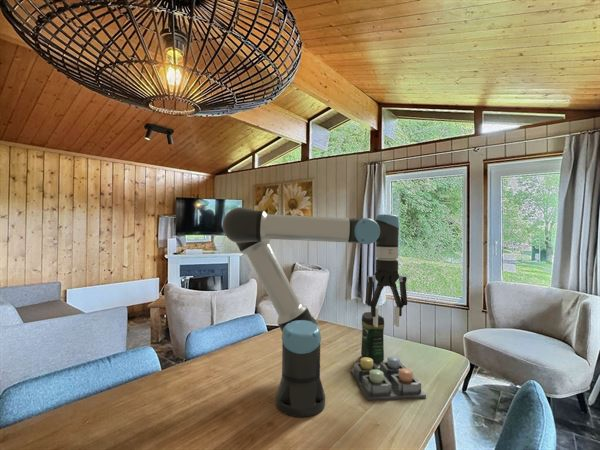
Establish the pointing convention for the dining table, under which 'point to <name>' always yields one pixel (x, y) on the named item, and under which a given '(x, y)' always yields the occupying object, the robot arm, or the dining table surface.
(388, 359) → the slate button
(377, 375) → the sage button
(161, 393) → the dining table surface
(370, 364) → the mustard button
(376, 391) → the button panel
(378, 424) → the dining table surface
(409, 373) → the terracotta button
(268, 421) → the dining table surface
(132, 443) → the dining table surface
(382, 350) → the coffee jar
